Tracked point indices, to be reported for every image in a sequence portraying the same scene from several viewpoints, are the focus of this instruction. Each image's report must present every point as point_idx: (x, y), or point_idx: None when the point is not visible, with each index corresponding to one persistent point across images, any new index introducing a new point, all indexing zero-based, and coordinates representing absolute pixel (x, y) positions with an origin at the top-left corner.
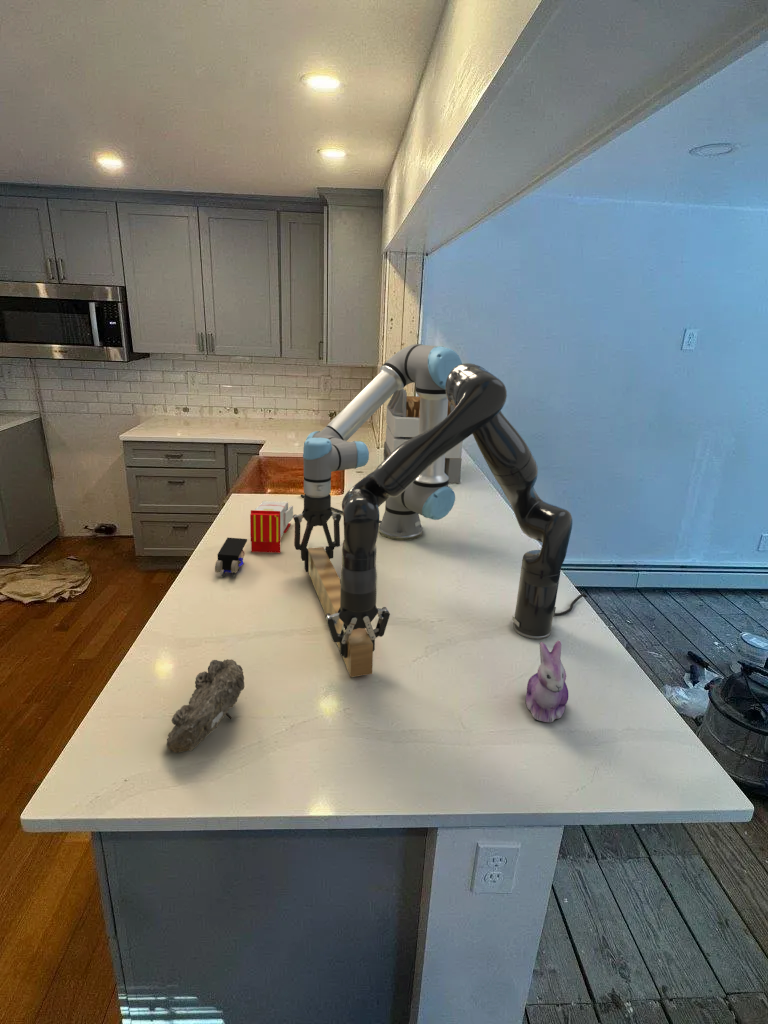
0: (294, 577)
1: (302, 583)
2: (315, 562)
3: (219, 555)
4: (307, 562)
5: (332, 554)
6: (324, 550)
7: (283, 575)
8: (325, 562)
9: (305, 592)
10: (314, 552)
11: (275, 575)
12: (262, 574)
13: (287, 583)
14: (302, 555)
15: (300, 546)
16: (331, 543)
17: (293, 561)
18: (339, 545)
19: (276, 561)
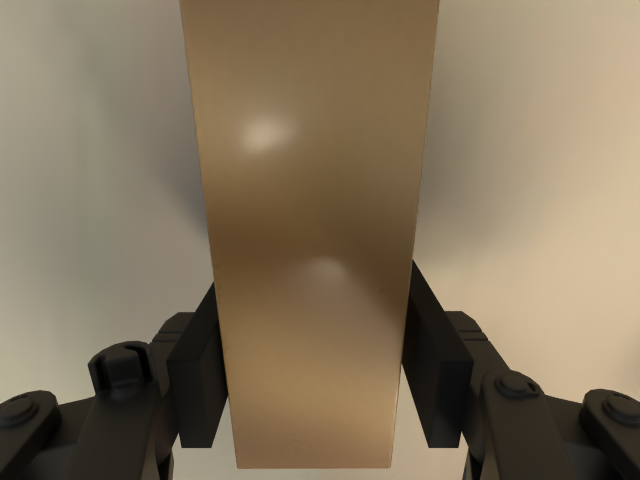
0: (462, 264)
1: (437, 173)
2: (407, 100)
3: None
4: (416, 288)
5: (165, 336)
6: (237, 402)
7: (517, 300)
8: (270, 66)
9: (455, 24)
10: (347, 379)
11: (562, 309)
12: (627, 333)
13: (530, 193)
14: (483, 345)
15: (572, 437)
16: (102, 436)
17: (414, 439)
18: (9, 401)
19: None
